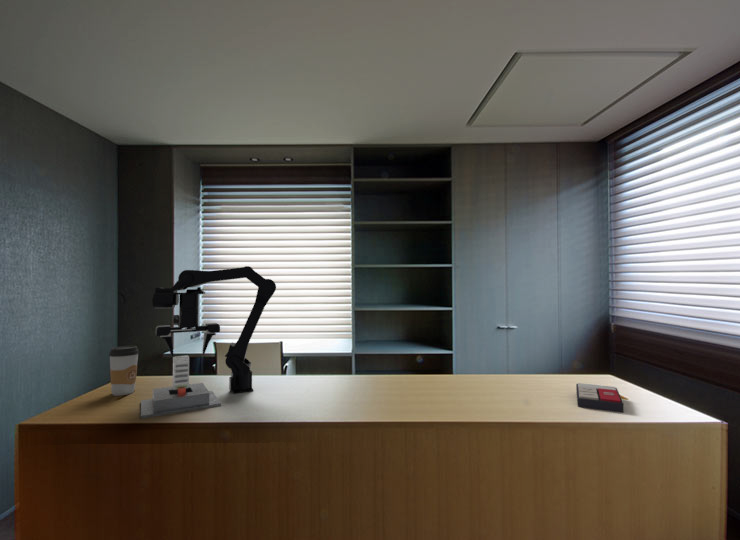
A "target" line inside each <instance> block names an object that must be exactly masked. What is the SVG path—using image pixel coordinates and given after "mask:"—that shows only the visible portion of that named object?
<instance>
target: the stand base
mask: <svg viewBox="0 0 740 540" xmlns="http://www.w3.org/2000/svg"><path fill="white" fill-rule="evenodd" d="M221 406H222V403H221V401H220V400H219V398H218V397H217V395H216V394H215V393H214V392H213V390H208V388H207V386H205V384H204V383H203V382H199V383H197V382H196V383H189V388H178V389H177V390H173V386H167V387H158V388H152V398H149V399H142V400H140V419H141V420H143V419H148V418H154V417H159V416H167V415H172V414H179V413H185V412H191V411H197V410H205V409H209V408H215V407H216V408H217V407H221Z"/></svg>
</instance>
